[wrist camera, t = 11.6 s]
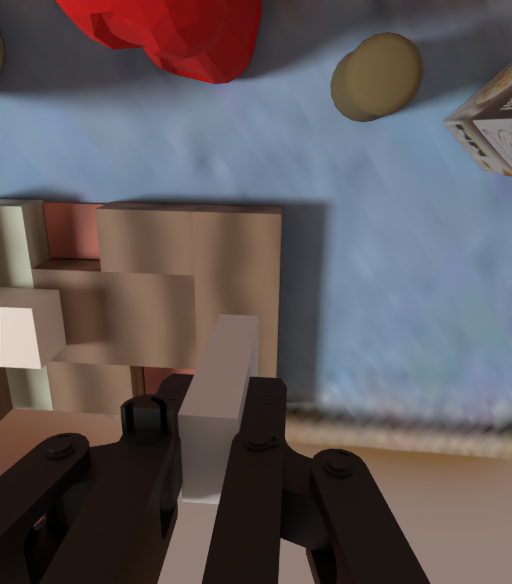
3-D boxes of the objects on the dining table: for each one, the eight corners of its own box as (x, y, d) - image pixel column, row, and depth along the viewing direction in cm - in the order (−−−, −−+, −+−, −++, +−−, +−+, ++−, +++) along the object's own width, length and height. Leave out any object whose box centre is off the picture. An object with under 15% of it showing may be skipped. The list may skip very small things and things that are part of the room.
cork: (412, 60, 40) (451, 39, 30) (383, 131, 42) (411, 134, 32) (346, 36, 40) (362, 6, 30) (320, 108, 42) (327, 104, 32)
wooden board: (282, 206, 45) (280, 219, 39) (276, 403, 53) (273, 439, 47) (-14, 198, 48) (-60, 209, 42) (20, 387, 55) (-15, 420, 49)
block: (58, 289, 46) (31, 308, 41) (66, 345, 48) (41, 369, 43) (0, 287, 46) (-34, 305, 42) (10, 342, 48) (-21, 365, 44)
